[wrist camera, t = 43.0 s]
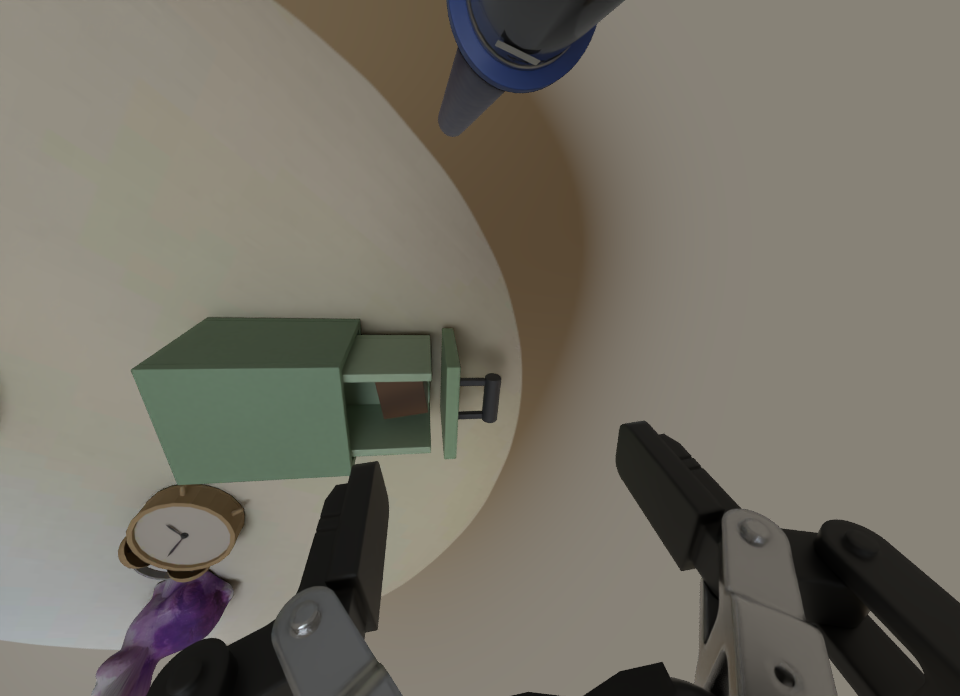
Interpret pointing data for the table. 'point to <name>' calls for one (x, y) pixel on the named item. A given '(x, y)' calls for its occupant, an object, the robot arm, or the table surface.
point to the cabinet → (252, 399)
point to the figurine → (163, 632)
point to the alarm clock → (182, 532)
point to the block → (402, 398)
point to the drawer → (407, 364)
